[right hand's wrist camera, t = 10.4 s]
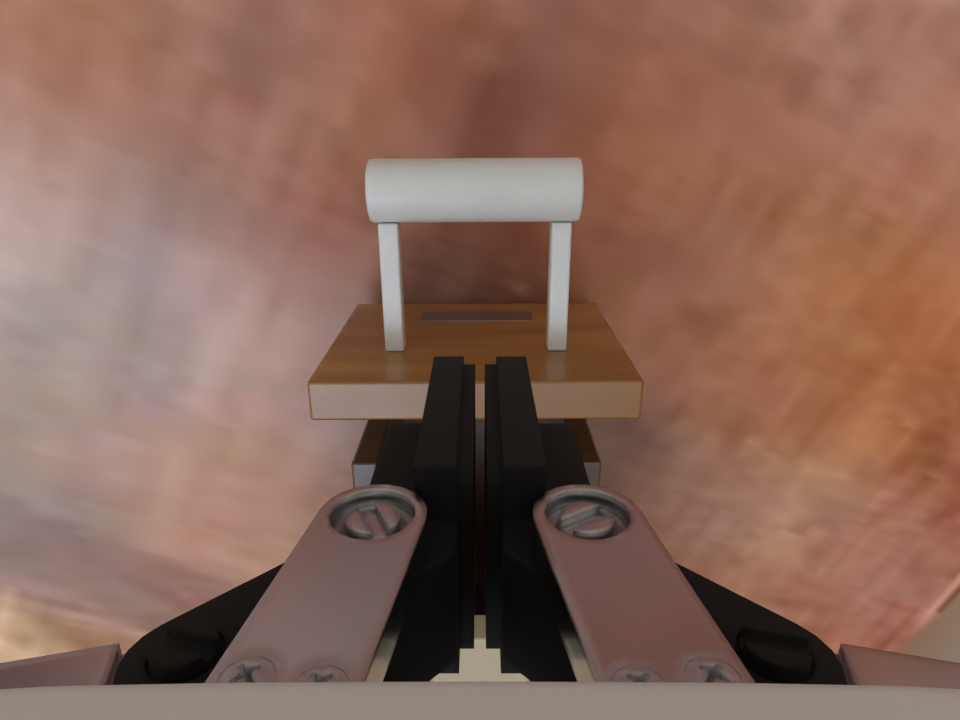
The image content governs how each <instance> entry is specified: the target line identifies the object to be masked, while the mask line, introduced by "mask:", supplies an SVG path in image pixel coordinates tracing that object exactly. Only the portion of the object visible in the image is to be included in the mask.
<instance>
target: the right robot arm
mask: <svg viewBox="0 0 960 720" xmlns="http://www.w3.org/2000/svg"><path fill="white" fill-rule="evenodd" d="M475 521H476V434H475V364H464V356H434V360H433V365H432V370H431V376H430V381H429V386H428V392H427V397H426V402H425V407H424V413H423V418H422V423H389V424H388V426H387V429H386V432H385V436H384V439H383V442H382V446H381V449H380V452H379V456H378V459H377V463H376V466H375V469H374V473H373V476H372V479H371V483H370V485H367V486H361V487H356V488H353V489H350V490H347V491H344V492H342V493H340V494H338V495H337V496H335V497H333V498H331V499H330V500H329V501H328V502H327V503H326V504H325V505H324V506H323V507H322V508H321V509H320V511H319V512H318V514H317V515H316V517H315V518H314V520H313V521H312V523H311V524H310V526H309V527H308V529H307V530H306V532H305V533H304V535H303V536H302V538H301V539H300V541H299V542H298V544H297V545H296V547H295V548H294V550H293V551H292V553H291V554H290V556H289V557H288V559H287V560H286V562H285V563H283V564H281V565H279V566H277V567H275V568H273V569H271V570H269V571H267V572H265V573H263V574H261V575H259V576H257V577H255V578H254V579H252V580H250V581H248V582H246V583H244V584H242V585H240V586H238V587H236V588H234V589H232V590H230V591H228V592H226V593H224V594H222V595H220V596H218V597H216V598H214V599H212V600H210V601H208V602H206V603H204V604H202V605H200V606H198V607H196V608H194V609H192V610H190V611H188V612H186V613H184V614H182V615H180V616H178V617H176V618H174V619H172V620H170V621H168V622H166V623H165V624H163V625H161V626H159V627H158V628H156V629H154V630H153V631H151V632H150V633H148V634H146V635H145V636H143V637H142V638H141V639H140V640H139V641H138V642H137V643H136V644H134V645H133V646H132V647H131V648H130V649H129V650H128V651H127V652H126V654H122V653H121V649H120V645H119V643H118V644H112V645H106V646H100V647H94V648H88V649H83V650H77V651H71V652H65V653H59V654H53V655H47V656H41V657H35V658H29V659H23V660H17V661H11V662H5V663H0V720H960V663H955V662H949V661H943V660H937V659H931V658H925V657H919V656H913V655H907V654H901V653H895V652H889V651H883V650H877V649H872V648H866V647H860V646H854V645H848V644H842V643H841V645H840V649H839V653H838V654H834V652H833V651H832V650H831V649H830V648H829V647H828V646H827V645H826V644H824V643H823V642H822V641H821V640H820V639H819V638H818V637H817V636H815V635H814V634H812V633H810V632H809V631H807V630H806V629H804V628H802V627H801V626H799V625H797V624H795V623H794V622H792V621H790V620H788V619H786V618H784V617H782V616H780V615H778V614H776V613H774V612H772V611H770V610H768V609H766V608H764V607H762V606H760V605H758V604H756V603H754V602H752V601H750V600H748V599H746V598H744V597H742V596H740V595H738V594H736V593H734V592H732V591H730V590H728V589H726V588H724V587H722V586H720V585H718V584H716V583H714V582H712V581H710V580H708V579H706V578H704V577H703V576H701V575H699V574H697V573H695V572H693V571H691V570H689V569H687V568H685V567H683V566H681V565H679V564H677V563H675V562H674V560H673V559H672V557H671V556H670V554H669V553H668V551H667V550H666V548H665V547H664V545H663V544H662V542H661V541H660V539H659V538H658V536H657V535H656V533H655V532H654V530H653V529H652V527H651V526H650V524H649V523H648V521H647V520H646V518H645V517H644V515H643V514H642V512H641V511H640V509H639V508H638V507H637V506H636V505H635V504H634V503H633V502H632V501H631V500H630V499H629V498H627V497H625V496H623V495H622V494H620V493H618V492H616V491H613V490H610V489H607V488H604V487H599V486H593V485H590V483H589V479H588V476H587V473H586V469H585V466H584V463H583V459H582V456H581V452H580V449H579V446H578V442H577V439H576V436H575V432H574V429H573V426H572V424H571V423H538V418H537V413H536V407H535V402H534V397H533V392H532V386H531V381H530V376H529V370H528V365H527V360H526V356H496V364H485V434H484V522H485V612H486V649H500V663H501V673H521V674H522V675H523V676H525V677H526V678H527V682H485V681H475V682H433V678H434V677H435V676H437V675H438V674H439V673H459V663H460V649H474V612H475Z"/></svg>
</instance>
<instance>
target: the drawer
mask: <svg viewBox="0 0 960 720" xmlns="http://www.w3.org/2000/svg"><path fill="white" fill-rule="evenodd" d="M583 191H584V176H583V165H582V162H581V159H580V158H408V159H369V160H368V162H367V165H366V172H365V195H366V205H367V211H368V215H369V218H370V220H371V221H372V222H374V223H376V222H380V223H379V224H378V237H379V254H380V270H381V287H382V303H383V304H359V305H357V307H356V309H355V310H354V312H353V313H352V315H351V316H350V318H349V319H348V321H347V322H346V324H345V326H344V327H343V329H342V330H341V332H340V333H339V335H338V336H337V338H336V340H335V341H334V343H333V344H332V346H331V347H330V349H329V350H328V352H327V353H326V355H325V357H324V358H323V360H322V361H321V363H320V364H319V366H318V367H317V369H316V371H315V372H314V374H313V375H312V377H311V378H310V380H309V381H308V384H307V385H308V394H309V403H310V412H311V418H312V419H313V420H368V421H367V424H366V427H365V429H364V432H363V435H362V437H361V440H360V443H359V446H358V448H357V451H356V454H355V456H354V459H353V462H352V475H353V487H354V488H356V487H361V486H367V485H370V483H371V479H372V476H373V473H374V469H375V466H376V463H377V459H378V456H379V452H380V449H381V446H382V442H383V439H384V436H385V432H386V429H387V426H388V424H389V423H422V418H423V413H424V407H425V402H426V397H427V392H428V386H429V381H430V376H431V370H432V365H433V360H434V356H464V364H475V434H476V521H475V612H474V615H486V612H485V522H484V434H485V364H496V356H526V360H527V365H528V370H529V376H530V381H531V386H532V392H533V397H534V402H535V407H536V413H537V418H538V423H571V424H572V426H573V429H574V432H575V436H576V439H577V442H578V446H579V449H580V452H581V456H582V459H583V463H584V466H585V469H586V473H587V476H588V479H589V483H590V485H593V486H599V485H600V470H601V461H600V459H599V456H598V453H597V450H596V447H595V444H594V441H593V438H592V436H591V433H590V430H589V427H588V424H587V421H586V418H639V417H640V415H641V404H642V393H643V380H642V378H641V377H640V375H639V373H638V372H637V370H636V369H635V367H634V365H633V364H632V362H631V360H630V359H629V357H628V356H627V354H626V352H625V351H624V349H623V347H622V346H621V344H620V342H619V341H618V339H617V338H616V336H615V334H614V333H613V331H612V329H611V328H610V326H609V325H608V323H607V321H606V320H605V318H604V316H603V315H602V313H601V312H600V310H599V308H598V307H597V305H596V304H595V303H568V302H569V279H570V257H571V234H572V224H571V222H570V221H578V220H579V218H580V215H581V211H582V204H583ZM400 222H550V235H549V266H548V296H547V303H506V304H404V295H403V275H402V254H401V234H400Z"/></svg>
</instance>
